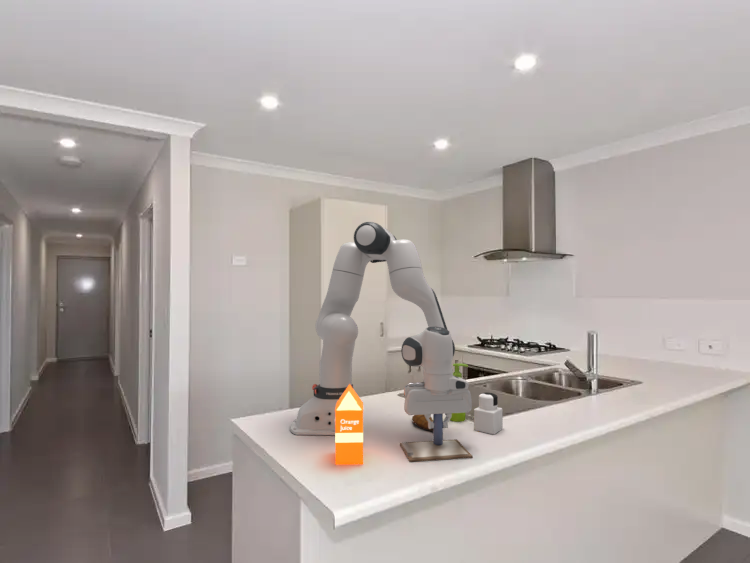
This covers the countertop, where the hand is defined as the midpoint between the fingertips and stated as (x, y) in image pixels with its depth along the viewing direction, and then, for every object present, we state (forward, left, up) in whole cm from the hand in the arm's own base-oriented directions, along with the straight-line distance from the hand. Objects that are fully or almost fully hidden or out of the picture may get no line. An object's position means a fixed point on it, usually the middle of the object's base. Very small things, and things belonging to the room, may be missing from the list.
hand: (437, 428), depth 130 cm
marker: (0, 0, -5) cm, 5 cm away
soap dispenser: (+15, +24, -6) cm, 29 cm away
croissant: (+1, +19, -6) cm, 20 cm away
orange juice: (-27, -4, -6) cm, 28 cm away
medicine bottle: (+21, +12, -6) cm, 25 cm away
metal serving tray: (-2, -3, -6) cm, 7 cm away
